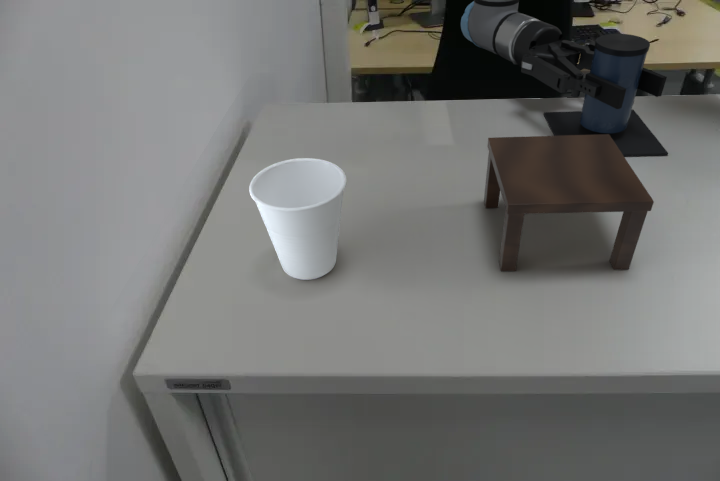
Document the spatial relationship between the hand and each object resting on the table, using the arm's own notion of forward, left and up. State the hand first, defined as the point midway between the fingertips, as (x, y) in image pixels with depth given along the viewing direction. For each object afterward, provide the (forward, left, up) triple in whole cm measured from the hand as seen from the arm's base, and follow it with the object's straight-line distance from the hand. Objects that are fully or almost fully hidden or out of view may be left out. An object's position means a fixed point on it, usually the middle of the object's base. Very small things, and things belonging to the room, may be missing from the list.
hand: (642, 92), depth 75 cm
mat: (+2, -4, -8) cm, 10 cm away
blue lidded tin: (+2, -4, -7) cm, 8 cm away
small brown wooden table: (+15, +20, -8) cm, 26 cm away
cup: (+43, +25, -8) cm, 51 cm away
